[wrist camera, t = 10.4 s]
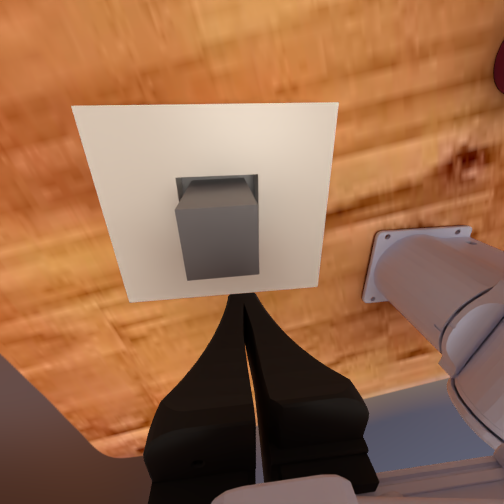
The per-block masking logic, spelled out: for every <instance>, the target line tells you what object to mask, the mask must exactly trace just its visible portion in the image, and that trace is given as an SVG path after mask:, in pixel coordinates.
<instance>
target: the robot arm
mask: <svg viewBox="0 0 504 504" xmlns="http://www.w3.org/2000/svg"><path fill="white" fill-rule="evenodd" d="M471 232H472V227H470V226H467V225H464V226H448V227H433V228H417V229H402V230H386V231H379V232H378V233H377V234H376V236H375V241H374V245H373V250H372V254H371V259H370V264H369V268H368V273H367V278H366V282H365V287H364V292H363V296H362V300H363V301H364V302H365V303H373V302H384V301H389V302H390V303H391V304H392V305H393V306H394V307H395V308H396V309H397V310H398V311H399V312H400V313H401V314H402V315H403V316H404V317H405V318H406V319H407V320H408V321H409V322H410V323H411V324H412V325H413V326H414V327H415V328H416V329H417V330H418V331H419V332H420V333H421V334H422V335H423V336H424V337H425V338H426V339H427V340H428V341H429V342H430V343H431V344H432V345H433V346H434V347H435V348H436V349H437V350H438V351H439V352H440V353H441V354H442V357H441V360H440V361H439V363H438V364H439V365H440V366H441V367H442V368H443V369H444V370H445V371H446V372H447V373H448V374H449V375H450V378H449V379H448V383H447V390H448V394H449V397H450V398H451V401H452V402H453V404H454V406H455V407H456V409H457V410H458V412H459V414H460V415H461V417H462V418H463V419H464V421H465V422H466V423H467V424H468V425H469V427H470V428H471V429H472V430H473V431H474V432H475V433H476V434H477V435H478V436H479V437H480V438H481V439H482V440H483V441H485V442H486V443H487V444H488V445H489V446H491V447H492V448H493V449H494V450H495V452H494V455H493V456H487V457H480V458H473V459H467V460H460V461H453V462H447V463H440V464H433V465H427V466H420V467H413V468H407V469H400V470H394V471H387V472H380V473H375V470H374V468H373V466H372V464H371V462H370V459H369V457H368V455H367V453H368V447H367V445H366V442H365V440H364V438H363V434H364V431H365V428H366V425H367V422H368V418H369V412H368V409H367V406H366V404H365V403H364V401H363V399H362V397H361V395H360V394H359V392H358V391H357V389H356V388H355V386H354V385H353V383H352V382H351V381H350V379H348V378H346V377H344V376H343V375H341V374H339V373H337V372H335V371H334V370H332V369H330V368H328V367H327V366H325V365H324V364H322V363H321V362H319V361H318V360H316V359H315V358H314V357H312V356H311V355H310V354H308V353H307V352H306V351H304V350H303V349H302V348H301V347H300V346H298V345H297V344H296V343H295V342H294V341H293V340H292V339H291V338H290V337H289V336H288V335H287V334H286V333H285V332H284V331H283V330H282V329H281V328H280V327H279V326H278V325H277V324H276V322H275V321H274V320H273V319H272V318H271V316H270V315H269V314H268V312H267V311H266V310H265V308H264V307H263V305H262V304H261V302H260V301H259V299H258V297H257V295H256V294H255V293H240V294H230V295H229V296H228V301H227V305H226V308H225V312H224V314H223V317H222V319H221V321H220V324H219V326H218V328H217V330H216V332H215V334H214V336H213V338H212V339H211V341H210V343H209V344H208V346H207V348H206V349H205V351H204V352H203V354H202V355H201V356H200V358H199V359H198V361H197V362H196V363H195V365H194V366H193V367H192V368H191V370H190V371H189V372H188V373H187V374H186V375H185V377H184V378H183V379H182V380H181V381H180V382H179V383H178V385H177V386H176V387H175V388H174V389H173V390H172V391H171V392H170V393H169V394H168V395H167V396H166V397H165V398H164V399H163V400H162V401H161V402H160V404H159V407H158V409H157V411H156V413H155V416H154V418H153V421H152V424H151V427H150V429H149V433H148V437H147V441H146V445H145V449H144V453H143V456H144V462H145V464H146V467H147V469H148V472H149V475H150V478H151V479H152V486H151V491H150V496H149V501H148V504H504V251H501V250H499V249H497V248H494V247H492V246H490V245H487V244H485V243H483V242H480V241H478V240H475V239H473V238H471V237H470V234H471ZM386 235H388V236H387V237H386V238H385V236H386ZM372 297H373V298H372ZM245 346H246V351H247V356H248V361H249V365H250V370H251V375H252V380H253V386H254V392H255V400H256V409H257V418H258V427H259V436H260V447H261V457H262V466H263V476H264V483H261V484H255V469H256V422H255V413H254V404H253V398H252V392H251V386H250V380H249V373H248V367H247V360H246V352H245Z"/></svg>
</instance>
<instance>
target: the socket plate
mask: <svg viewBox="0 0 504 504" xmlns="http://www.w3.org/2000/svg"><path fill="white" fill-rule="evenodd" d="M338 105H339V102H331V103H255V104H179V105H103V106H71V107H72V111H73V114H74V117H75V121H76V124H77V127H78V131H79V134H80V138H81V141H82V144H83V148H84V151H85V154H86V158H87V161H88V164H89V168H90V171H91V175H92V178H93V181H94V185H95V188H96V191H97V195H98V198H99V201H100V205H101V208H102V212H103V215H104V218H105V222H106V225H107V228H108V232H109V235H110V238H111V242H112V245H113V249H114V252H115V255H116V259H117V262H118V265H119V269H120V272H121V275H122V279H123V282H124V286H125V289H126V292H127V296H128V299H129V302H130V303H132V302H144V301H155V300H167V299H179V298H191V297H202V296H214V295H226V294H238V293H250V292H261V291H273V290H285V289H297V288H308V287H318V279H319V270H320V262H321V253H322V244H323V235H324V227H325V218H326V209H327V201H328V192H329V183H330V175H331V166H332V157H333V149H334V140H335V131H336V123H337V114H338ZM243 177H244V178H245V180H246V182H247V184H248V186H249V188H250V190H251V192H252V194H253V196H254V198H255V200H256V202H257V204H258V232H259V274H258V275H247V276H236V277H225V278H213V279H202V280H191V281H187V277H186V271H185V266H184V260H183V254H182V249H181V243H180V237H179V232H178V226H177V221H176V215H175V208H176V207H177V205H178V203H179V202H180V200H181V198H182V196H183V195H184V193H185V191H186V190H187V188H188V186H189V184H190V183H191V181H192V180H206V179H224V178H243Z"/></svg>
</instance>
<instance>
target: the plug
mask: <svg viewBox="0 0 504 504" xmlns="http://www.w3.org/2000/svg"><path fill="white" fill-rule="evenodd" d="M175 215H176V221H177V226H178V232H179V237H180V243H181V249H182V254H183V260H184V266H185V271H186V277H187V281H191V280H202V279H213V278H225V277H236V276H247V275H258V274H259V232H258V204H257V202H256V200H255V198H254V196H253V194H252V192H251V190H250V188H249V186H248V184H247V182H246V180H245V178H244V177H243V178H224V179H206V180H192V181H191V183H190V184H189V186H188V188H187V190H186V191H185V193H184V195H183V196H182V198H181V200H180V202H179V203H178V205H177V207H176V208H175Z"/></svg>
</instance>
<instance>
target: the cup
mask: <svg viewBox="0 0 504 504" xmlns="http://www.w3.org/2000/svg"><path fill="white" fill-rule="evenodd" d="M494 79H495V83H496V85H497V87H498V89H499V90H500V91H501V92H502V93H504V41H503V43H502V45H501V47H500V49H499V51H498V54H497V57H496V61H495V67H494Z"/></svg>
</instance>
